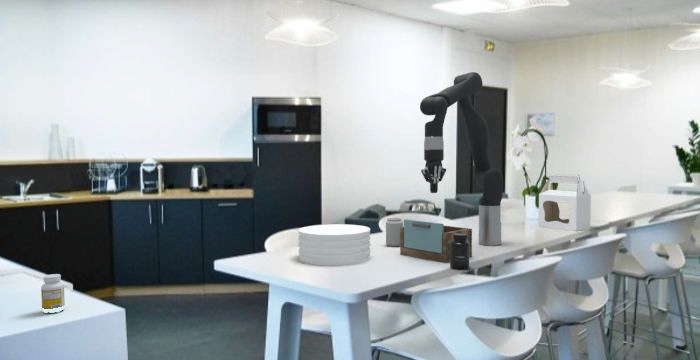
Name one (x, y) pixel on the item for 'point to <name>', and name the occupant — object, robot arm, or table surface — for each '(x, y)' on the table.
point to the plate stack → (334, 244)
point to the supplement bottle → (459, 252)
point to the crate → (447, 240)
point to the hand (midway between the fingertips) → (433, 192)
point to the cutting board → (423, 235)
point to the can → (393, 231)
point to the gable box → (577, 199)
